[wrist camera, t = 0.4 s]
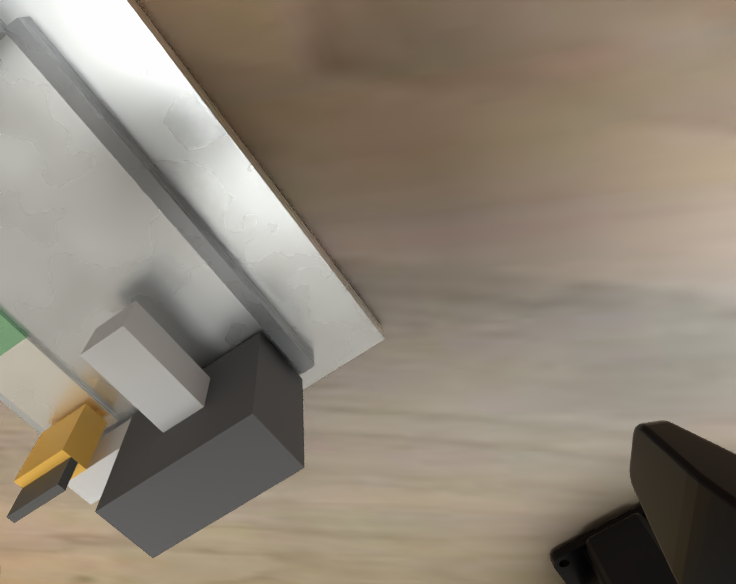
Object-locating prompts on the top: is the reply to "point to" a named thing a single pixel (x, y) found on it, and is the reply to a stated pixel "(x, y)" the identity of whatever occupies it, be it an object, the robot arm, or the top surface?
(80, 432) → the yellow and grey block
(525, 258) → the top surface
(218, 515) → the block with white pegs
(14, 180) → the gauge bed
